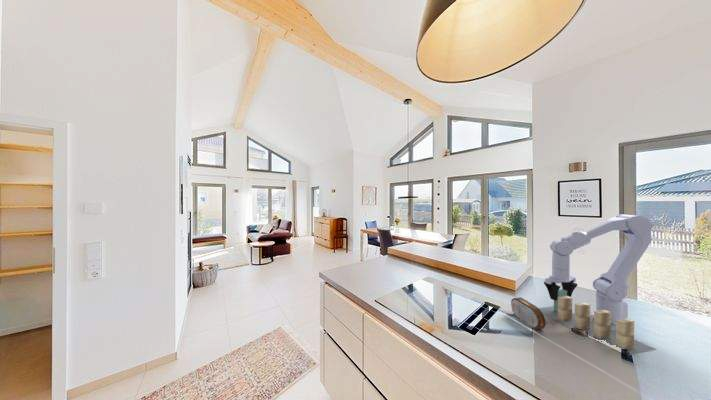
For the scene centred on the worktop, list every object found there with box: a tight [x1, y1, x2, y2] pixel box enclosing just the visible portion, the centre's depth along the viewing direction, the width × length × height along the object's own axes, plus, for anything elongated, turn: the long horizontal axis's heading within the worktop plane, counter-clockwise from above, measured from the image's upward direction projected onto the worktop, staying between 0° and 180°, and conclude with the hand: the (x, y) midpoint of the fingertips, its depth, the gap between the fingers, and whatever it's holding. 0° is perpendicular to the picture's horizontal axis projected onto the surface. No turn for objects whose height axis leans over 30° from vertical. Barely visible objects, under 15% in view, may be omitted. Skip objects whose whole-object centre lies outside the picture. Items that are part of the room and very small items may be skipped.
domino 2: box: [558, 296, 573, 321], centre depth 94 cm, size 5×2×9 cm, turn 102°
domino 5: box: [615, 318, 635, 349], centre depth 76 cm, size 5×2×9 cm, turn 102°
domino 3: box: [574, 302, 591, 329], centre depth 88 cm, size 5×2×9 cm, turn 102°
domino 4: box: [593, 310, 612, 339], centre depth 82 cm, size 5×2×9 cm, turn 103°
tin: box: [510, 296, 547, 330], centre depth 92 cm, size 15×3×8 cm, turn 2°
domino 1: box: [553, 288, 567, 312], centre depth 101 cm, size 5×2×9 cm, turn 102°
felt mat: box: [538, 305, 658, 356], centre depth 89 cm, size 14×31×1 cm, turn 13°
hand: (560, 298), depth 101 cm, fingers open, 7 cm apart
